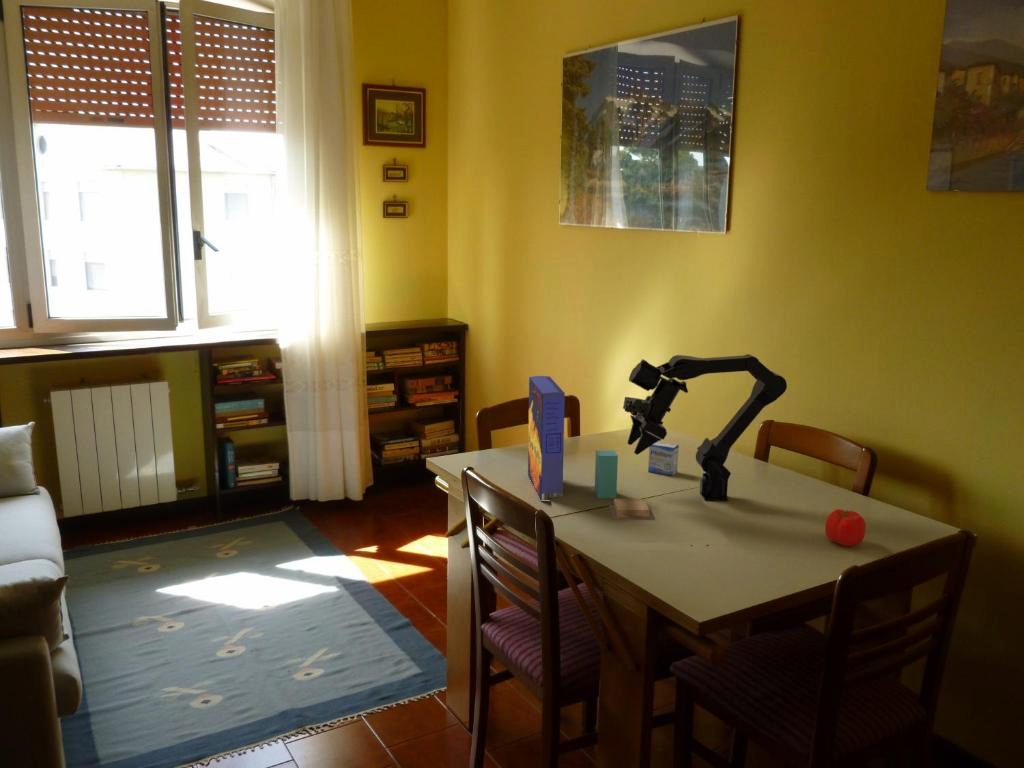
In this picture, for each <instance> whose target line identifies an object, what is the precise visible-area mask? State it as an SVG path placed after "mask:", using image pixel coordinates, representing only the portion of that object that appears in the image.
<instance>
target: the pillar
mask: <svg viewBox="0 0 1024 768" xmlns="http://www.w3.org/2000/svg"><path fill="white" fill-rule="evenodd" d="M618 460H619V455H618V454H617V452H616V451H615V449H613V450H612V449H611V450H607V449H605V450H604V449H601V450H595V460H594V461H595V467H594V468H595V469H594V470H595V471H594V493H595V496H596V498H597V499H617V494H618V493H617V492H618V491H617V490H618V489H617V488H618Z"/></svg>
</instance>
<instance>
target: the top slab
mask: <svg viewBox="0 0 1024 768" xmlns="http://www.w3.org/2000/svg"><path fill="white" fill-rule="evenodd" d="M613 505H614V509H615V512H616V515H617V517H649V513H650V512H651V510H650V508H649V506H648V503H647V501H646V499H645V498H613Z"/></svg>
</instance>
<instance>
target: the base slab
mask: <svg viewBox="0 0 1024 768" xmlns="http://www.w3.org/2000/svg"><path fill="white" fill-rule="evenodd" d="M608 507H609V508H610V512H611V514H612V518H613V519H614V520H654V516H653V514H652V512H651V511H650V513H649V517H617V515H616V512H615V509H614V504H609V505H608Z"/></svg>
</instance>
